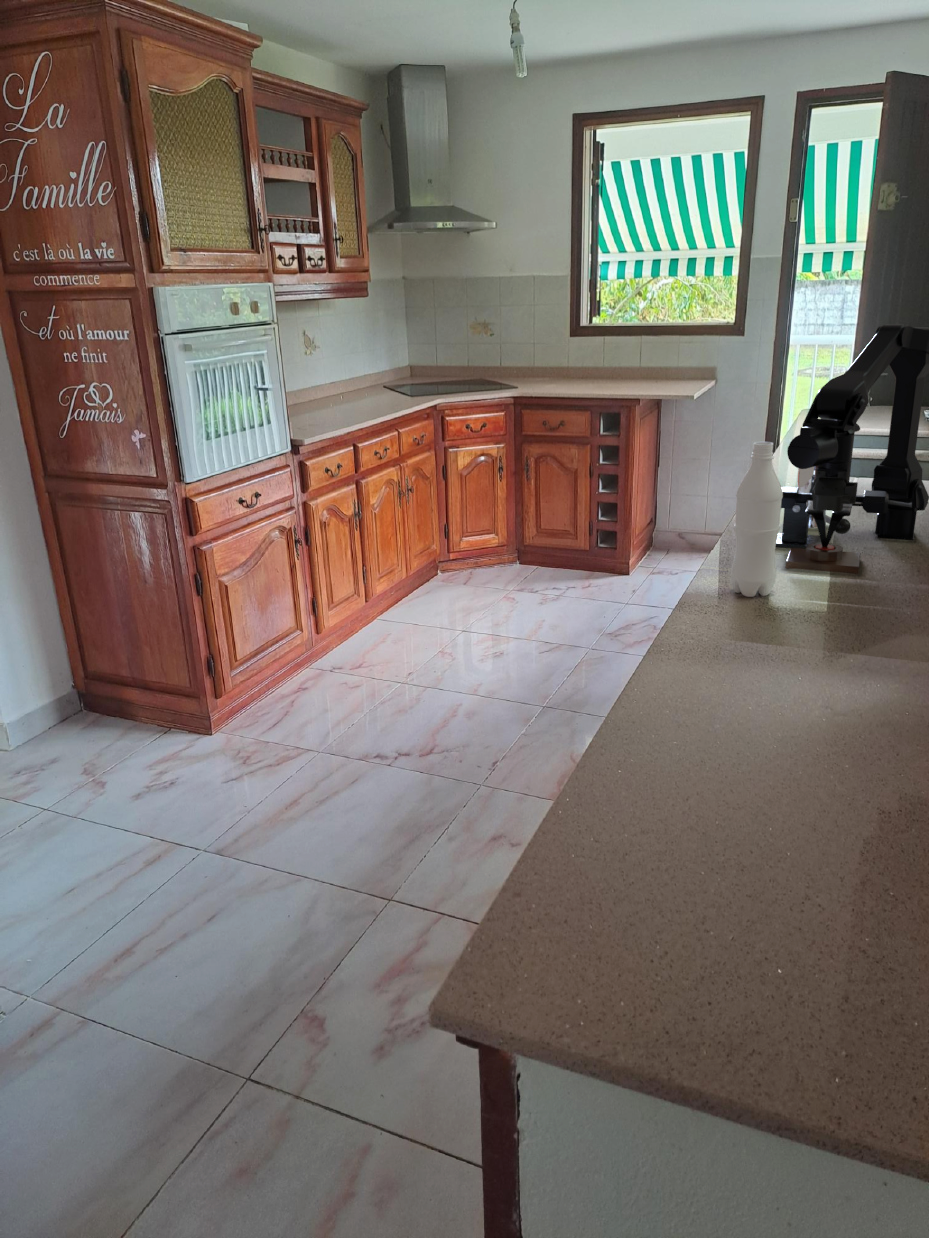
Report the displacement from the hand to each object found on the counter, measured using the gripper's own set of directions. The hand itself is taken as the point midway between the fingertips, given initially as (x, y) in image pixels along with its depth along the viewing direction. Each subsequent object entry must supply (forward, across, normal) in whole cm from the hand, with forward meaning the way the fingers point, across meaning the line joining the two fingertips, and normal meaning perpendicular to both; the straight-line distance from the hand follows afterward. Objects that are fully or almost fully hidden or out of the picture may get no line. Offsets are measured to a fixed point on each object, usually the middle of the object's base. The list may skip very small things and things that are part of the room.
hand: (824, 546), depth 158 cm
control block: (+4, 0, 0) cm, 4 cm away
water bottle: (+4, -10, -18) cm, 21 cm away
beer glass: (+4, -4, +28) cm, 28 cm away
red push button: (+2, 0, 0) cm, 2 cm away
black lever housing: (+4, -6, +12) cm, 14 cm away
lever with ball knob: (-1, -2, +12) cm, 13 cm away
